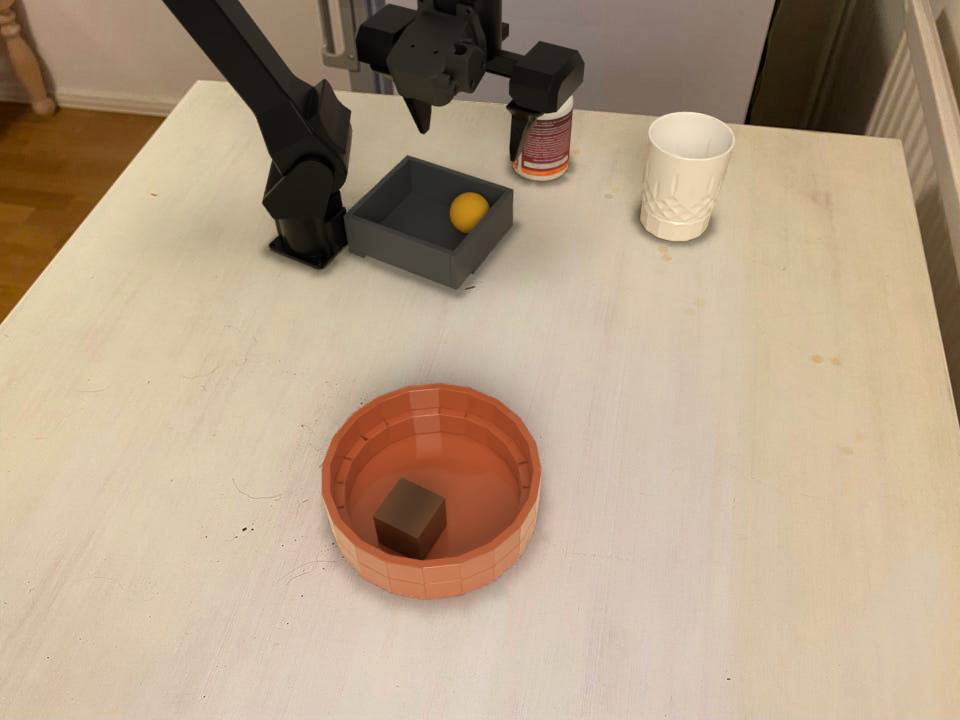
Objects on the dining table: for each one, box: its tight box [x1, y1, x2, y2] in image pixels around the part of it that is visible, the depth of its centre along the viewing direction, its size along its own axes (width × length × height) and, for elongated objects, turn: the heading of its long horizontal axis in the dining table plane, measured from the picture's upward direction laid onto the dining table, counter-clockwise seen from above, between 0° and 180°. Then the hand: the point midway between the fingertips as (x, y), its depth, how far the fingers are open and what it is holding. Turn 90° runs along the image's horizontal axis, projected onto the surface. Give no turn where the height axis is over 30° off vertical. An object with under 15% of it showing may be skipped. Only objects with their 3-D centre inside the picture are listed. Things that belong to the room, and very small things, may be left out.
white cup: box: [639, 111, 736, 242], centre depth 78 cm, size 8×8×10 cm
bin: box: [343, 154, 514, 291], centre depth 79 cm, size 12×11×4 cm
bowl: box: [321, 382, 543, 601], centre depth 58 cm, size 15×15×5 cm
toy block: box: [373, 477, 447, 560], centre depth 57 cm, size 4×4×4 cm
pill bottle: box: [511, 94, 574, 182], centre depth 84 cm, size 6×6×11 cm
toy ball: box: [450, 192, 490, 234], centre depth 79 cm, size 4×4×4 cm
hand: (468, 145), depth 73 cm, fingers open, 9 cm apart
